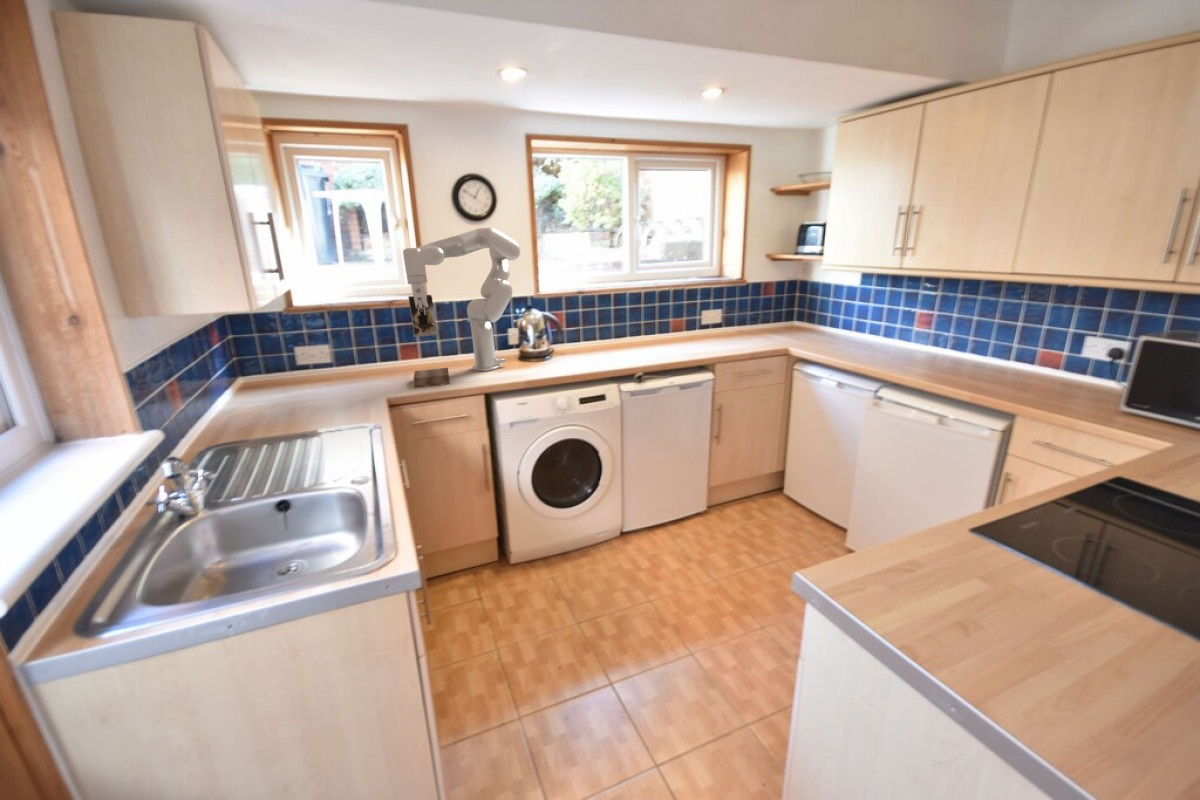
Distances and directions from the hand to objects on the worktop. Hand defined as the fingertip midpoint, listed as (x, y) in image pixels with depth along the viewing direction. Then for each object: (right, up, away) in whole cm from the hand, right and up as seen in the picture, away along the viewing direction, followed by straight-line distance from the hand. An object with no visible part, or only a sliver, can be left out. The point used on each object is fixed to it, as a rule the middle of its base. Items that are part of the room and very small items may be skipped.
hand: (424, 323), depth 219 cm
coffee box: (0, -5, +2) cm, 5 cm away
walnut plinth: (+1, -24, +8) cm, 25 cm away
